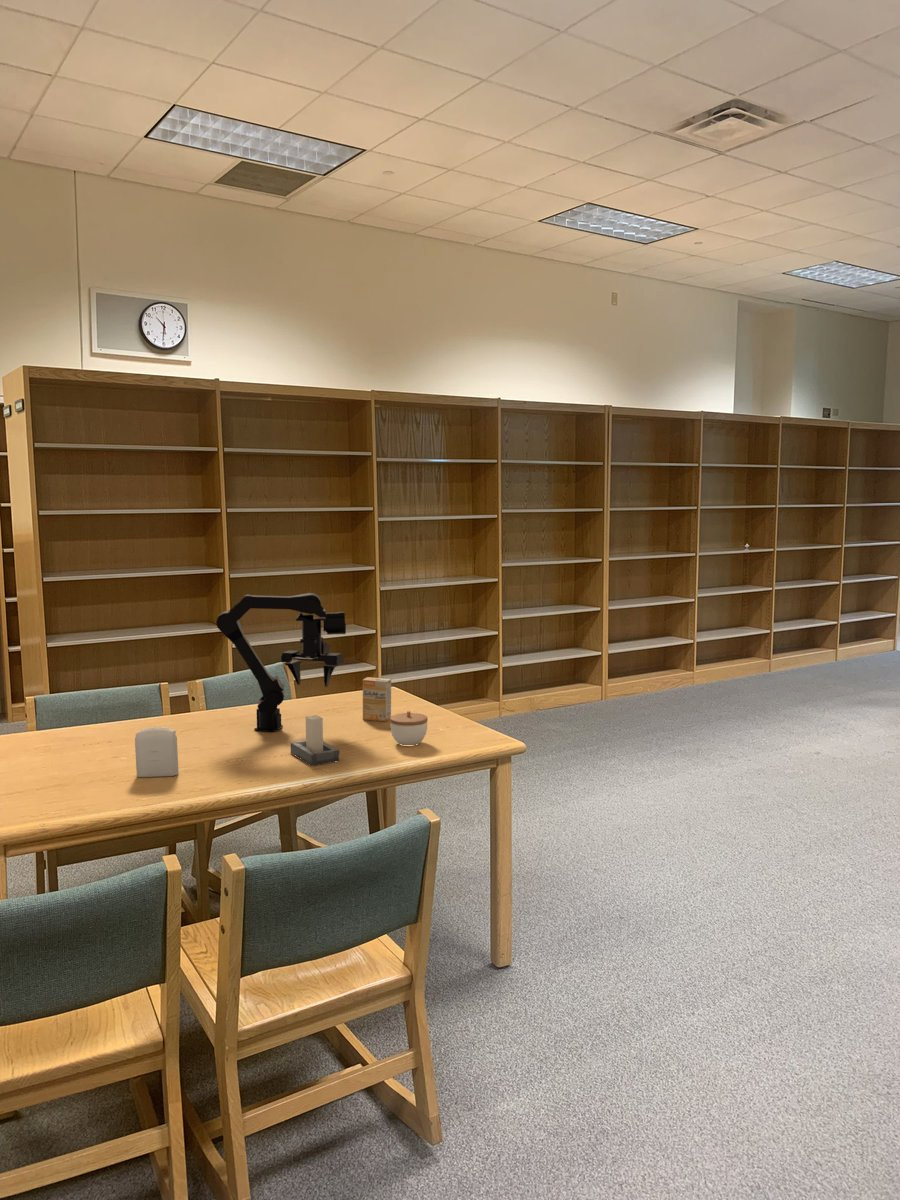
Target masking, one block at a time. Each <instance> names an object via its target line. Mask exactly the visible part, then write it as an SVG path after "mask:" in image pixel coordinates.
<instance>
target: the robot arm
mask: <svg viewBox="0 0 900 1200" xmlns="http://www.w3.org/2000/svg"><path fill="white" fill-rule="evenodd" d="M250 609H265V610H266V609H267V610H268V609H269V610H291V611H294V612H295V611H296V612H299V614H298V615H297V616H296V617H295V621H297V622H301V636H302V638H300V639H299V640H300V642H299V643H301V645H302V647H301V648H302V651H301V652H300V650H292V649H291V650H290V649H289V650H286V651H283V652H281V654H280V663H284V666H287V667H288V669H289V671H290V672H291V675H292V677H293V678H294V680H295V682H296V684H297V686H300V685H301V664H302V661H310V662H323V663H324V665H323V682H324V687H325V688H327V687H328V686H329V683H330V680H331V678H332V675H333V672H334V670H335V668H336V667H338V666H339V665H341V664H342V663H343V664H344V663H345V662H344V661H345V656H344V654H343V653H341V652H330V647H331V644H329V643H327V642H325V641H324V637H322V627H323V632H325V633H326V634H327V635H346V633H347V632H346V630H347V629H346V628H347V625H346V616H345V615H346V614H345V611H338V612H327V611H326V610H327V609H325V608H324V607H323V606H322V603H321V599H320V596H319V595H317V594H316V593H314V592H307V593H300V594H296V595H289V596H288V595H287V596H286V595H284V596H283V595H258V594H257V595H254V594H250V593H249V594H245V595H243V597H242V598H241V599H240V600H239V601H238V602H237V603H235V604H234V606H232V608H230V609H229V610H223V611H222V612H221V613H220V614H219V615H218V617H217V619H216V622H215V623H216V628H218V630H219V631H220V632H221V633H222V634H223V635H224V637H226V638H227V639H228V640H229V641H230V642H231V643H232V644H233V645H234V647H235V648H236V650H237V651H238V653H239V654H240V656H241V658H242V659H243V661H244V662H245V664H246V666H247V667H248V669H249V670H250V672H251V673H252V675H253V676H254V678H255V679H256V681H257V683H258V685H259V689H260V691H261V695H262V696H261V697H260V698H259V699H258V702H257V708H256V727H255V728H253V731H258V732H270V733H273V732H276V731H278V730H279V729H281V728H283V726H284V725H283V724H282V713H281V711H280V710H281V709H280V708H279V707H278V706H280V705H281V704H282V703H283V701H284V698H285V685H284V684H283V683H282V682H281V681H280V677H279V676H278V675H275V676H274V677H273V675H271V674H270V673H269V672H268V670H267V669H266V667H265V665H264V664H263V662H262V661H261V659H260V657H259V656H258V654H257V652H256V651H255V649H254V648H253V646H252V645H251V644H250V642H249V640H248V639H247V637H246V636H245V634H244V633H245V632H244V630H243V627H242V624H241V623H240V619H241V618H242V617H243V616H244V615H246V613H248V611H250ZM314 615H316V616H317V617H315V616H314Z"/></svg>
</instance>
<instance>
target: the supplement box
mask: <svg viewBox="0 0 900 1200" xmlns="http://www.w3.org/2000/svg"><path fill="white" fill-rule="evenodd" d="M391 716H392V679H391V678H384V677H383V678H382V677H372V676H371V677H369V676H367V677H365V678H363V679H362V720H363V721H375V720H377V722H385V721H386V722H388V721H390V717H391ZM387 720H388V721H387Z"/></svg>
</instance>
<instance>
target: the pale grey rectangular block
mask: <svg viewBox="0 0 900 1200" xmlns="http://www.w3.org/2000/svg"><path fill="white" fill-rule="evenodd" d="M323 720H324V719H323V717H322V716H319V715H318V714H315V715H307V716H305V740H306V748H307V749H309V750H311V751H312V752H314V753H317V752H323V741H324V731H323V730H324V726H323V725H324V724H323V723H324V721H323Z"/></svg>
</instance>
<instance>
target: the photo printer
mask: <svg viewBox="0 0 900 1200" xmlns="http://www.w3.org/2000/svg"><path fill="white" fill-rule="evenodd" d="M134 747H135V750H134V751H135V766H136V767H135V768H136V776H138V777H137V778H150V777H151V778H153V777H173V776H174V775H176V776H178V775H179V756H178V755H179V753H178V752H179V751H178V737H177V734H176V730H175V729H173V728H169V727H162V726H153V727H146V728H142V729H140V730H137V731H136V733H135V737H134ZM174 777H175V776H174Z"/></svg>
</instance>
